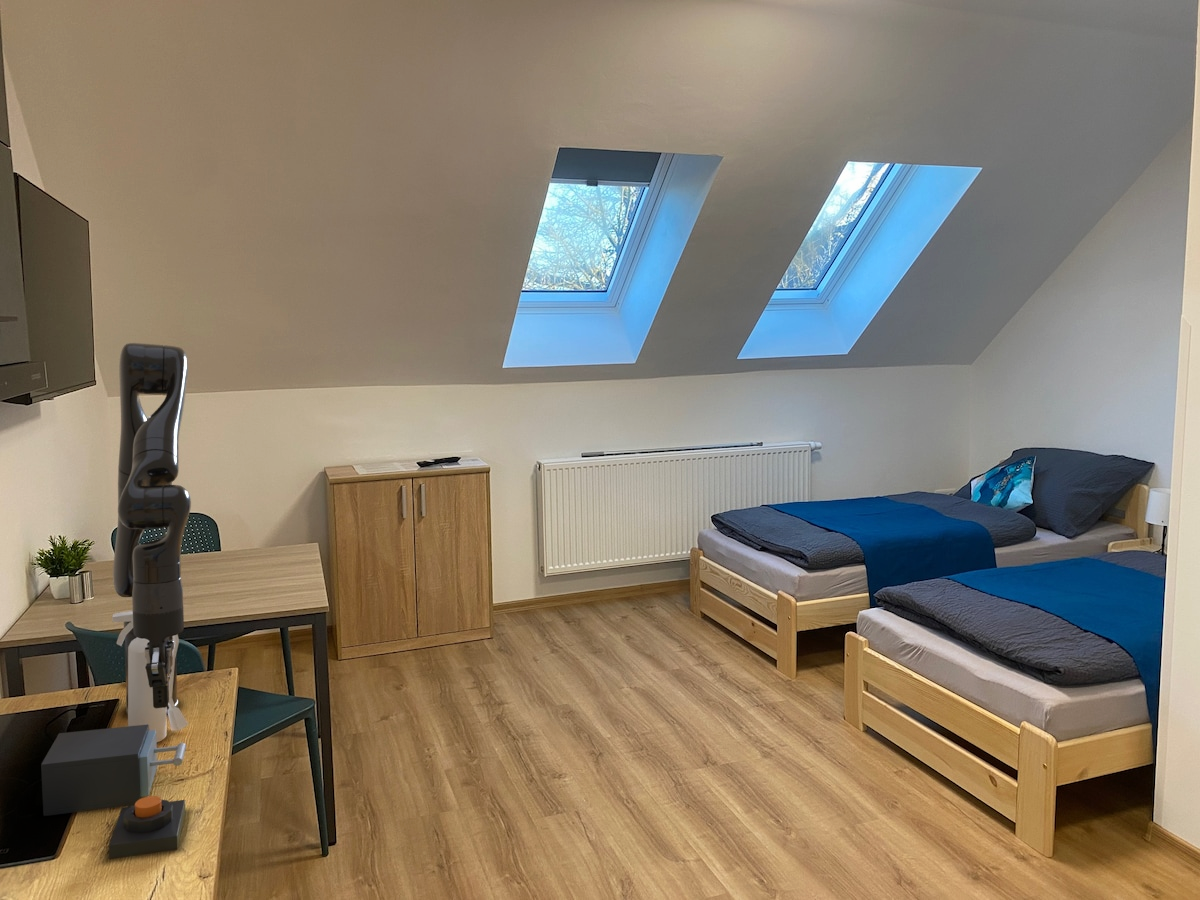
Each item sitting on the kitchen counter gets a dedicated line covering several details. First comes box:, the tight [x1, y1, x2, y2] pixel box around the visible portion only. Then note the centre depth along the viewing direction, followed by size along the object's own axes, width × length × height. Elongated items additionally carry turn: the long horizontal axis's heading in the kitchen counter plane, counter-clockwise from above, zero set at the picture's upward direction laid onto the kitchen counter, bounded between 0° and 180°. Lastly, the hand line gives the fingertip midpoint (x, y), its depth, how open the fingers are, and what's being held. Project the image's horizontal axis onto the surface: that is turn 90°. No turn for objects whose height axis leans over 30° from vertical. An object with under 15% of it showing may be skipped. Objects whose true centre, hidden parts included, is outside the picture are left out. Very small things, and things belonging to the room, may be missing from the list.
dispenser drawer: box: [139, 730, 187, 798], centre depth 149 cm, size 17×10×7 cm, turn 109°
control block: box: [108, 799, 186, 860], centre depth 136 cm, size 11×9×4 cm
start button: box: [135, 795, 162, 818], centre depth 135 cm, size 4×4×2 cm
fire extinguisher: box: [111, 610, 189, 743], centre depth 167 cm, size 7×12×25 cm, turn 111°
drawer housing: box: [40, 724, 149, 817], centre depth 147 cm, size 14×12×9 cm
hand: (161, 705), depth 149 cm, fingers closed
